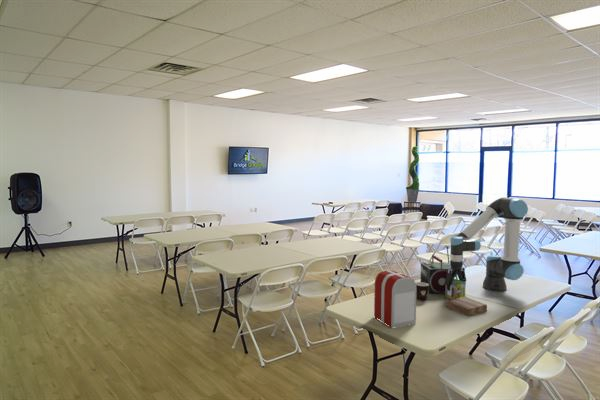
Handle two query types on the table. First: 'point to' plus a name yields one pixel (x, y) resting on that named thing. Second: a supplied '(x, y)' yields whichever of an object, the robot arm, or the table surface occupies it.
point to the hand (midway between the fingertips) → (455, 293)
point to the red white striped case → (395, 298)
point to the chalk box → (456, 289)
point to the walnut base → (466, 306)
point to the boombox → (435, 275)
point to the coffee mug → (421, 291)
